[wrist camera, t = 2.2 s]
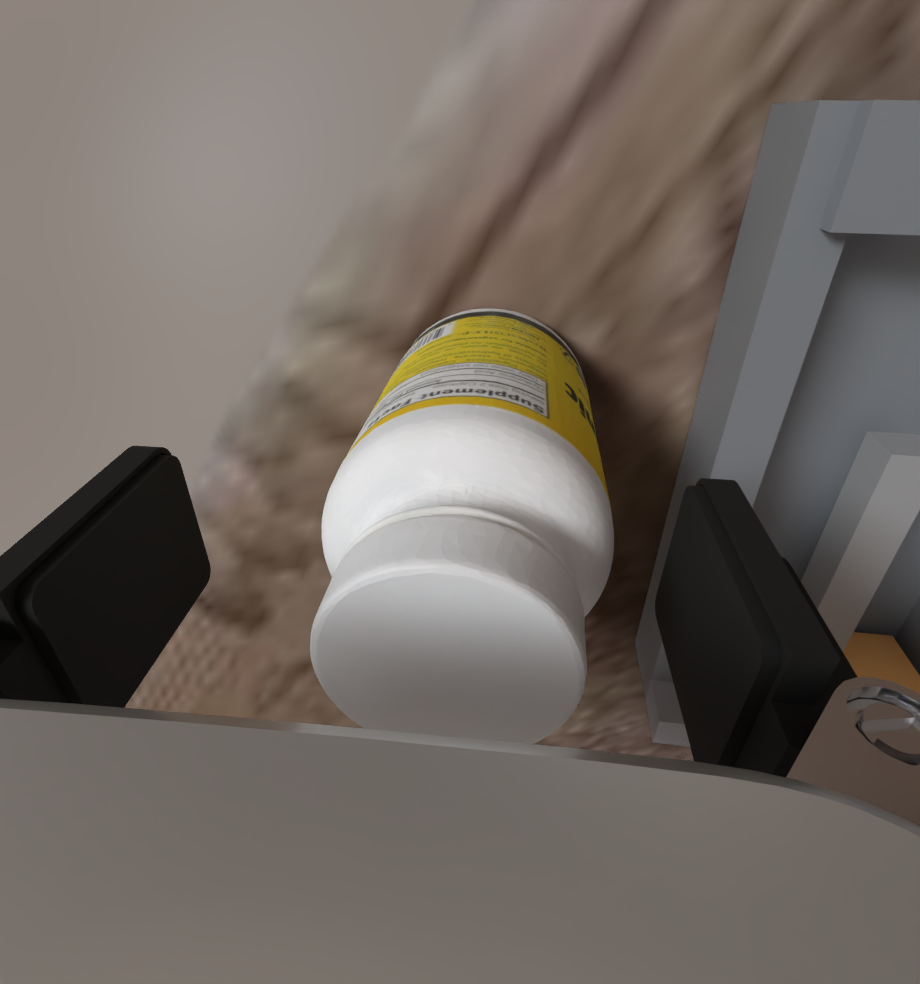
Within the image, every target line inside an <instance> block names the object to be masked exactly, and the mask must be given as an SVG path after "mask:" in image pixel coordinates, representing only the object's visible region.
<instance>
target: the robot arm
mask: <svg viewBox="0 0 920 984" xmlns="http://www.w3.org/2000/svg"><path fill="white" fill-rule="evenodd" d="M209 578H210V563H209V560H208V556H207V553H206V549H205V546H204V542H203V539H202V536H201V532H200V529H199V525H198V522H197V518H196V515H195V512H194V508H193V505H192V501H191V498H190V494H189V491H188V488H187V484H186V481H185V477H184V474H183V471H182V467H181V464H180V462H179V460H178V458H177V457H175V456H172V455H171V453H170V452H169V451H168V449H166V448H163V447H146V446H131V447H130V448H128V449H127V450H125V451H124V452H123V453H122V454H121V455H120V456H118V457H117V458H116V459H115V460H114V461H112V462H111V463H110V464H109V465H108V466H107V467H105V468H104V469H103V470H102V471H101V472H99V473H98V474H97V475H96V476H95V477H93V478H92V479H91V480H90V481H89V482H88V483H87V484H85V485H84V486H83V487H82V488H81V489H79V490H78V491H77V492H76V493H75V494H73V495H72V496H71V497H70V498H69V499H67V501H65V502H64V503H63V504H62V505H60V506H59V507H58V508H57V509H56V510H54V512H52V513H51V514H50V515H49V516H47V518H45V519H44V520H43V521H41V522H40V523H39V524H38V525H37V526H36V527H35V528H33V529H32V530H31V531H30V532H28V533H27V534H26V535H25V536H24V537H23V538H21V539H20V540H19V541H18V542H17V543H15V544H14V545H13V546H12V547H11V548H10V549H8V550H7V551H6V552H5V553H4V554H3V555H1V556H0V984H920V694H918V693H917V692H915V691H914V690H911V689H909V688H907V687H904V686H902V685H899V684H897V683H895V682H892V681H887V680H883V679H879V678H874V677H857V675H856V673H855V672H854V670H853V668H852V667H851V665H850V663H849V662H848V660H847V658H846V657H845V655H844V653H843V652H842V650H841V648H840V647H839V645H838V643H837V641H836V640H835V638H834V636H833V635H832V633H831V631H830V630H829V628H828V626H827V625H826V623H825V621H824V620H823V618H822V616H821V615H820V613H819V611H818V610H817V608H816V606H815V605H814V603H813V601H812V600H811V598H810V596H809V595H808V593H807V591H806V590H805V588H804V586H803V585H802V583H801V581H800V580H799V578H798V576H797V574H796V573H795V571H794V569H793V568H792V566H791V565H790V563H789V562H788V561H787V560H786V559H785V558H783V557H781V556H780V554H779V553H778V551H777V549H776V548H775V546H774V544H773V542H772V541H771V539H770V537H769V536H768V534H767V532H766V531H765V529H764V527H763V525H762V524H761V522H760V520H759V519H758V517H757V515H756V513H755V512H754V510H753V508H752V507H751V505H750V503H749V501H748V500H747V498H746V496H745V495H744V493H743V491H742V490H741V488H740V486H739V484H738V483H737V482H736V481H735V480H726V479H708V478H701V479H699V480H698V482H697V483H696V486H687V487H686V489H685V491H684V494H683V498H682V502H681V506H680V509H679V513H678V517H677V520H676V524H675V528H674V531H673V535H672V539H671V543H670V546H669V550H668V554H667V557H666V561H665V565H664V569H663V572H662V576H661V580H660V583H659V587H658V591H657V595H656V599H655V615H656V619H657V623H658V627H659V631H660V634H661V638H662V642H663V646H664V649H665V653H666V657H667V661H668V664H669V668H670V672H671V676H672V679H673V683H674V687H675V691H676V694H677V698H678V702H679V706H680V709H681V713H682V717H683V721H684V724H685V728H686V732H687V736H688V739H689V743H690V747H691V751H692V754H693V758H694V761H686V760H677V759H668V758H659V757H650V756H641V755H632V754H623V753H614V752H605V751H596V750H587V749H576V748H566V747H555V746H544V745H534V744H523V743H513V742H502V741H492V740H481V739H471V738H460V737H449V736H439V735H428V734H418V733H407V732H396V731H384V730H373V729H362V728H351V727H340V726H329V725H318V724H306V723H295V722H284V721H272V720H261V719H250V718H238V717H227V716H215V715H203V714H191V713H180V712H168V711H156V710H144V709H132V708H124V707H125V705H126V704H127V703H128V701H129V700H130V698H131V697H132V695H133V694H134V692H135V691H136V689H137V688H138V686H139V685H140V683H141V682H142V680H143V679H144V677H145V676H146V674H147V673H148V671H149V670H150V668H151V667H152V665H153V664H154V662H155V661H156V659H157V658H158V656H159V655H160V653H161V652H162V650H163V649H164V647H165V646H166V644H167V643H168V641H169V640H170V638H171V637H172V636H173V634H174V633H175V631H176V630H177V628H178V627H179V625H180V624H181V622H182V621H183V619H184V618H185V616H186V615H187V613H188V612H189V610H190V609H191V607H192V606H193V604H194V603H195V601H196V600H197V598H198V597H199V595H200V594H201V592H202V591H203V589H204V588H205V586H206V585H207V583H208V581H209Z"/></svg>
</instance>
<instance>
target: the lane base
mask: <svg viewBox="0 0 920 984" xmlns="http://www.w3.org/2000/svg"><path fill="white" fill-rule="evenodd" d="M867 431H873V432H889V433H905V434H919V435H920V100H864V101H838V100H817V101H804V102H790V103H777V104H772V105H771V109H770V113H769V117H768V121H767V125H766V129H765V133H764V136H763V140H762V144H761V148H760V152H759V156H758V160H757V164H756V168H755V172H754V176H753V180H752V184H751V188H750V192H749V195H748V199H747V203H746V207H745V211H744V215H743V219H742V223H741V227H740V231H739V235H738V239H737V243H736V247H735V250H734V254H733V258H732V262H731V266H730V270H729V274H728V278H727V282H726V286H725V290H724V294H723V298H722V302H721V305H720V309H719V313H718V317H717V321H716V325H715V329H714V333H713V337H712V341H711V345H710V349H709V353H708V357H707V361H706V364H705V368H704V372H703V376H702V380H701V384H700V388H699V392H698V396H697V400H696V404H695V408H694V412H693V416H692V419H691V423H690V427H689V431H688V435H687V439H686V443H685V447H684V451H683V455H682V459H681V463H680V467H679V471H678V474H677V478H676V482H675V486H674V490H673V494H672V498H671V502H670V506H669V510H668V514H667V518H666V522H665V526H664V530H663V533H662V537H661V541H660V545H659V549H658V553H657V557H656V561H655V565H654V569H653V573H652V577H651V581H650V585H649V588H648V592H647V596H646V600H645V604H644V608H643V612H642V616H641V620H640V624H639V628H638V632H637V636H636V640H635V645H636V651H637V657H638V662H639V668H640V674H641V679H642V685H643V690H644V696H645V702H646V707H647V713H648V719H649V724H650V730H651V736H652V741H653V742H654V743H663V744H672V745H681V746H689V747H690V743H689V739H688V736H687V732H686V728H685V724H684V721H683V717H682V713H681V709H680V706H679V702H678V698H677V694H676V691H675V687H674V683H673V679H672V676H671V672H670V668H669V664H668V661H667V657H666V653H665V649H664V646H663V642H662V638H661V634H660V631H659V627H658V623H657V619H656V615H655V599H656V595H657V591H658V587H659V583H660V580H661V576H662V572H663V569H664V565H665V561H666V557H667V554H668V550H669V546H670V543H671V539H672V535H673V531H674V528H675V524H676V520H677V517H678V513H679V509H680V506H681V502H682V498H683V494H684V491H685V489H686V487H687V486H696V483H697V482H698V480H699V479H701V478H708V479H726V480H735V481H736V482H737V483H738V484H739V486H740V488H741V490H742V491H743V493H744V495H745V496H746V498H747V500H748V501H749V503H750V505H751V507H752V508H753V510H754V512H755V513H756V515H757V517H758V519H759V520H760V522H761V524H762V525H763V527H764V529H765V531H766V532H767V534H768V536H769V537H770V539H771V541H772V542H773V544H774V546H775V548H776V549H777V551H778V553H779V554H780V556H781V557H783V558H785V559H786V560H787V561H788V562H789V563H790V565H791V566H792V568H793V569H794V571H795V573H796V574H797V576H798V578H799V580H800V581H801V580H802V578H803V575H804V573H805V571H806V569H807V566H808V564H809V562H810V560H811V557H812V555H813V553H814V551H815V548H816V546H817V544H818V541H819V539H820V537H821V535H822V532H823V530H824V528H825V526H826V523H827V521H828V519H829V517H830V514H831V512H832V510H833V507H834V505H835V503H836V501H837V498H838V496H839V494H840V492H841V489H842V487H843V485H844V483H845V480H846V478H847V476H848V474H849V471H850V469H851V467H852V464H853V462H854V460H855V458H856V455H857V453H858V451H859V449H860V446H861V444H862V442H863V440H864V437H865V435H866V433H867ZM854 632H858V633H869V634H879V635H890V636H893V637H894V639H895V640H896V642H897V643H898V644H899V646H900V647H901V649H902V650H903V652H904V653H905V655H906V656H907V658H908V659H909V661H910V662H911V664H912V665H913V667H914V668H915V669H916V671H917V672H918V674H919V675H920V510H919V512H918V514H917V516H916V518H915V519H914V521H913V523H912V525H911V527H910V529H909V531H908V532H907V534H906V536H905V538H904V540H903V542H902V544H901V545H900V547H899V549H898V551H897V553H896V555H895V556H894V558H893V560H892V562H891V564H890V566H889V568H888V569H887V571H886V573H885V575H884V577H883V579H882V580H881V582H880V584H879V586H878V588H877V590H876V592H875V593H874V595H873V597H872V599H871V601H870V603H869V605H868V606H867V608H866V610H865V612H864V614H863V616H862V617H861V619H860V621H859V623H858V625H857V627H856V629H855V630H854Z"/></svg>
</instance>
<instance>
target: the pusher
mask: <svg viewBox="0 0 920 984" xmlns="http://www.w3.org/2000/svg"><path fill="white" fill-rule="evenodd" d="M919 510H920V435H919V434H905V433H889V432H873V431H867V433H866V435H865V437H864V440H863V442H862V444H861V446H860V449H859V451H858V453H857V455H856V458H855V460H854V462H853V464H852V467H851V469H850V471H849V474H848V476H847V478H846V480H845V483H844V485H843V487H842V489H841V492H840V494H839V496H838V498H837V501H836V503H835V505H834V507H833V510H832V512H831V514H830V517H829V519H828V521H827V523H826V526H825V528H824V530H823V532H822V535H821V537H820V539H819V541H818V544H817V546H816V548H815V551H814V553H813V555H812V557H811V560H810V562H809V564H808V566H807V569H806V571H805V573H804V575H803V578H802V580H801V583H802V585H803V586H804V588H805V590H806V591H807V593H808V595H809V596H810V598H811V600H812V601H813V603H814V605H815V606H816V608H817V610H818V611H819V613H820V615H821V616H822V618H823V620H824V621H825V623H826V625H827V626H828V628H829V630H830V631H831V633H832V635H833V636H834V638H835V640H836V641H837V643H838V645H839V647H840V648H841V650H842V652H843V653H844V655H845V657H846V658H847V660H848V662H849V663H850V665H851V667H852V668H853V670H854V672H855V673H856V675H857V677H874V678H879V679H883V680H887V681H892V682H895V683H897V684H899V685H902V686H904V687H907V688H909V689H911V690H914V691H915V692H917V693H918V694H920V675H919V674H918V672H917V671H916V669H915V668H914V667H913V665H912V664H911V662H910V661H909V659H908V658H907V656H906V655H905V653H904V652H903V650H902V649H901V647H900V646H899V644H898V643H897V642H896V640H895V639H894V637H893V636H890V635H879V634H869V633H858V632H854V630H855V629H856V627H857V625H858V623H859V621H860V619H861V617H862V616H863V614H864V612H865V610H866V608H867V606H868V605H869V603H870V601H871V599H872V597H873V595H874V593H875V592H876V590H877V588H878V586H879V584H880V582H881V580H882V579H883V577H884V575H885V573H886V571H887V569H888V568H889V566H890V564H891V562H892V560H893V558H894V556H895V555H896V553H897V551H898V549H899V547H900V545H901V544H902V542H903V540H904V538H905V536H906V534H907V532H908V531H909V529H910V527H911V525H912V523H913V521H914V519H915V518H916V516H917V514H918V512H919Z"/></svg>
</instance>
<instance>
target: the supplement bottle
mask: <svg viewBox="0 0 920 984" xmlns="http://www.w3.org/2000/svg"><path fill="white" fill-rule="evenodd" d="M322 544H323V551H324V556H325V560H326V563H327V566H328V569H329V571H330V574H331V577H332V579H331V582H330V584H329V587H328V589H327V591H326V593H325V596H324V598H323V600H322V603H321V605H320V607H319V609H318V612H317V614H316V617H315V620H314V623H313V626H312V631H311V639H310V653H311V660H312V664H313V667H314V671H315V674H316V676H317V678H318V680H319V682H320V684H321V686H322V688H323V689H324V691H325V692H326V694H327V695H328V697H329V698H330V699H331V700H332V701H333V702H334V703H335V705H336V706H337V707H338V708H339V709H340V710H341V711H342V712H343V713H344V714H346V715H347V716H348V717H349V718H350V719H352V720H353V721H354V722H355V723H357V724H358V725H360V726H361V727H363V728H364V729H373V730H384V731H396V732H407V733H418V734H428V735H439V736H449V737H460V738H471V739H481V740H492V741H502V742H513V743H523V744H534V743H536V742H538V741H540V740H542V739H544V738H545V737H547V736H549V735H550V734H552V733H553V732H554V731H556V730H557V729H558V728H560V727H561V726H562V725H563V724H564V723H565V721H566V720H567V719H568V718H569V717H570V716H571V715H572V713H573V712H574V710H575V709H576V707H577V706H578V704H579V702H580V699H581V697H582V695H583V691H584V688H585V684H586V678H587V655H586V642H585V616H586V615H587V614H588V613H589V612H590V610H591V609H592V608H593V606H594V605H595V604H596V602H597V601H598V599H599V598H600V596H601V593H602V591H603V589H604V587H605V585H606V583H607V580H608V577H609V574H610V570H611V566H612V561H613V553H614V528H613V520H612V512H611V506H610V500H609V495H608V491H607V486H606V481H605V477H604V472H603V467H602V462H601V457H600V451H599V446H598V440H597V436H596V432H595V427H594V422H593V417H592V412H591V407H590V400H589V394H588V390H587V386H586V383H585V379H584V376H583V373H582V370H581V367H580V365H579V363H578V361H577V359H576V358H575V356H574V354H573V353H572V351H571V349H570V348H569V347H568V346H567V344H566V343H565V342H564V341H563V340H562V339H561V338H560V337H559V336H558V335H557V334H556V333H555V332H554V331H553V330H551V329H550V328H548V327H547V326H545V325H544V324H542V323H541V322H539V321H537V320H535V319H533V318H531V317H529V316H526V315H523V314H520V313H518V312H514V311H509V310H504V309H473V310H467V311H463V312H460V313H457V314H454V315H451V316H449V317H446V318H444V319H442V320H440V321H439V322H437V323H435V324H434V325H432V326H431V327H430V328H428V329H427V330H426V331H424V332H423V333H422V334H421V335H420V336H419V337H418V338H417V339H416V340H415V342H414V343H413V344H412V345H411V346H410V348H409V349H408V351H407V352H406V353H405V355H404V357H403V358H402V360H401V361H400V363H399V364H398V366H397V368H396V369H395V371H394V373H393V375H392V377H391V378H390V380H389V382H388V384H387V386H386V387H385V389H384V391H383V393H382V394H381V396H380V398H379V400H378V401H377V403H376V405H375V407H374V409H373V410H372V412H371V414H370V416H369V417H368V419H367V421H366V423H365V424H364V426H363V428H362V430H361V431H360V433H359V435H358V437H357V438H356V440H355V442H354V444H353V445H352V447H351V449H350V450H349V452H348V454H347V456H346V457H345V459H344V461H343V463H342V464H341V466H340V468H339V470H338V472H337V474H336V476H335V479H334V481H333V483H332V485H331V487H330V489H329V492H328V495H327V499H326V502H325V505H324V510H323V516H322Z"/></svg>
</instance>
